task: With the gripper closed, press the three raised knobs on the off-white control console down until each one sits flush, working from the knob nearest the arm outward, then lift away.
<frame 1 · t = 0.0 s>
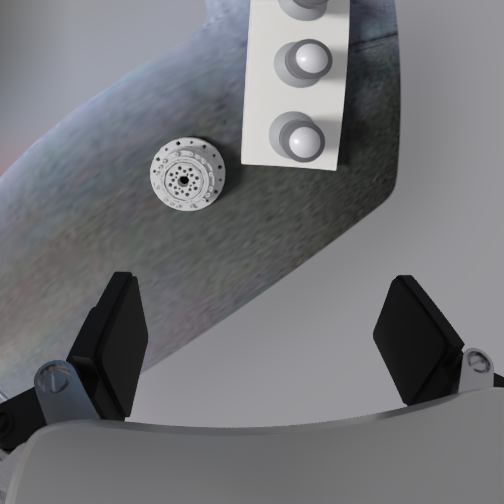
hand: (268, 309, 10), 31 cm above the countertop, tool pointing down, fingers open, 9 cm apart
mechanical component: (188, 172, 39), on the countertop
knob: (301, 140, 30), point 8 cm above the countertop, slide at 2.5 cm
console: (293, 67, 33), on the countertop
knob middle: (308, 59, 26), point 8 cm above the countertop, slide at 2.5 cm
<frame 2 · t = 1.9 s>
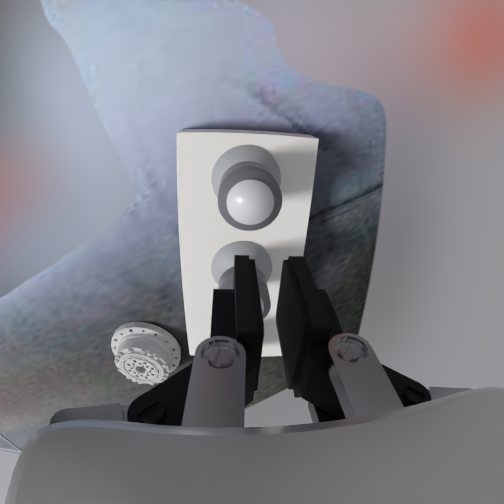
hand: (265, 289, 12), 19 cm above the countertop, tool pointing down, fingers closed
mechanical component: (146, 345, 39), on the countertop
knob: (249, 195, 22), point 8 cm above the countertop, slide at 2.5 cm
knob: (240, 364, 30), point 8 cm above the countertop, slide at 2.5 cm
console: (240, 253, 33), on the countertop
knob middle: (243, 296, 26), point 8 cm above the countertop, slide at 2.5 cm
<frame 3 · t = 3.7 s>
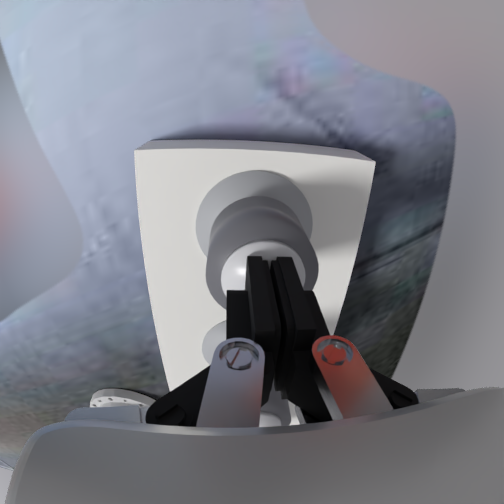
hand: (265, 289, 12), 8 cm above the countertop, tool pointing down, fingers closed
mechanical component: (132, 408, 30), on the countertop
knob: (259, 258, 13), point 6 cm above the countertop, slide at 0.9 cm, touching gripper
console: (244, 319, 23), on the countertop
knob middle: (250, 405, 16), point 8 cm above the countertop, slide at 2.5 cm
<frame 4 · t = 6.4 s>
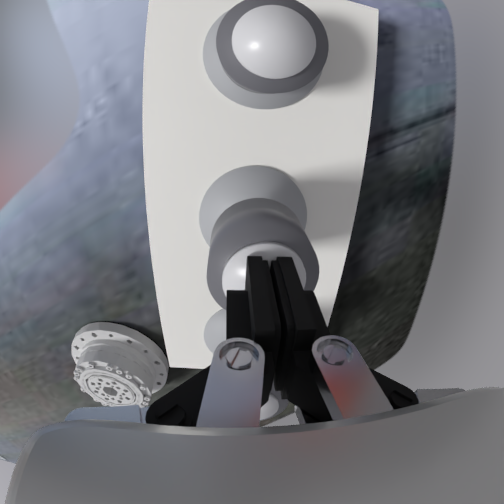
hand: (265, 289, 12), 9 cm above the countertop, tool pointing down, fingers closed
mechanical component: (121, 354, 27), on the countertop
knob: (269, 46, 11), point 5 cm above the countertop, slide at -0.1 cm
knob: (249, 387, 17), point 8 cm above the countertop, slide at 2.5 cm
console: (250, 199, 19), on the countertop
knob middle: (260, 260, 13), point 8 cm above the countertop, slide at 2.4 cm, touching gripper
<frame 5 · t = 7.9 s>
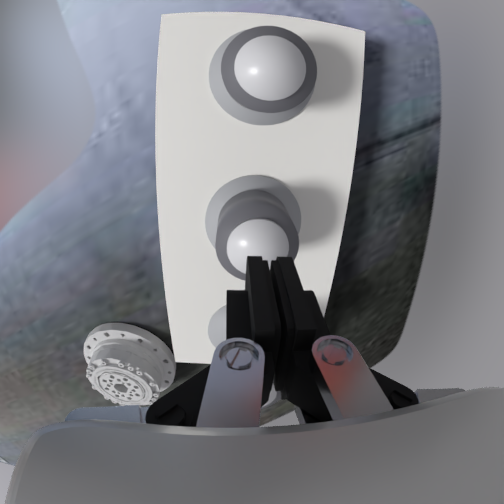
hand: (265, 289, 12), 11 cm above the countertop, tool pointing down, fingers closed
mechanical component: (130, 354, 29), on the countertop
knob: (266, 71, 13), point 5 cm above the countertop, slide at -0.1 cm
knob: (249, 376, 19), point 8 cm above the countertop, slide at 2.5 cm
console: (250, 206, 22), on the countertop
knob middle: (255, 235, 17), point 5 cm above the countertop, slide at -0.1 cm
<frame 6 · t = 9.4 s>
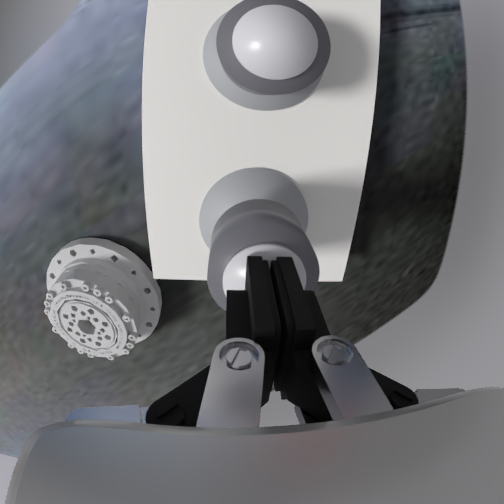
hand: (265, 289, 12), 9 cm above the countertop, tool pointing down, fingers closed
mechanical component: (105, 289, 22), on the countertop
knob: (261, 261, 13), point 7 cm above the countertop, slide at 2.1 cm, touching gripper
console: (259, 60, 15), on the countertop
knob middle: (270, 47, 10), point 5 cm above the countertop, slide at -0.1 cm
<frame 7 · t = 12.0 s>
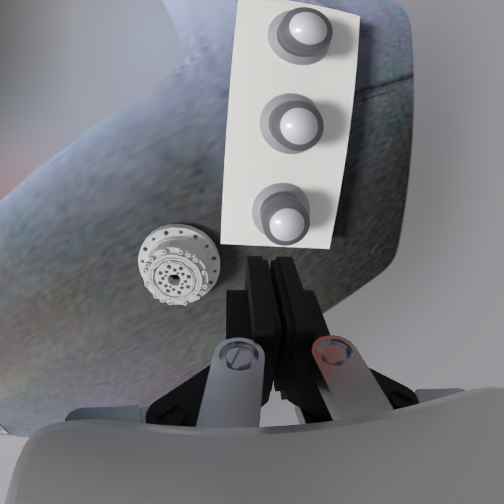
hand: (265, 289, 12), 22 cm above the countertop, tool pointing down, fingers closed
mechanical component: (180, 259, 36), on the countertop
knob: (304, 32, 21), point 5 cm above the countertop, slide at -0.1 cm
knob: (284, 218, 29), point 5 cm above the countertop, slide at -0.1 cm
console: (285, 122, 29), on the countertop
knob middle: (295, 124, 25), point 5 cm above the countertop, slide at -0.1 cm
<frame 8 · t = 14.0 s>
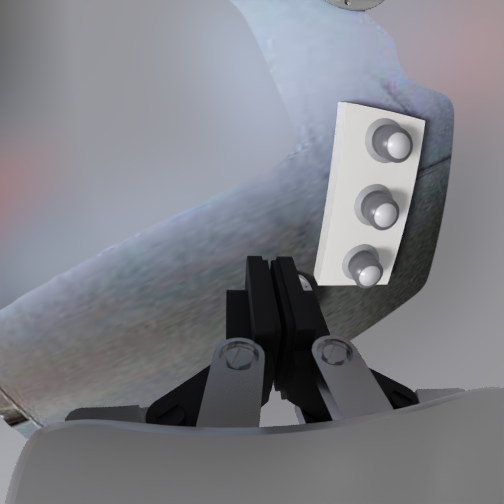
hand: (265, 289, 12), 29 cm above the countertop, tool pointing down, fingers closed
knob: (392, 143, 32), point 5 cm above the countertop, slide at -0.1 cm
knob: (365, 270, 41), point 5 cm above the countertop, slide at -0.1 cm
console: (365, 197, 41), on the countertop
knob middle: (380, 210, 36), point 5 cm above the countertop, slide at -0.1 cm
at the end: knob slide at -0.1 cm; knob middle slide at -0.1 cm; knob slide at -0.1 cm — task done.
